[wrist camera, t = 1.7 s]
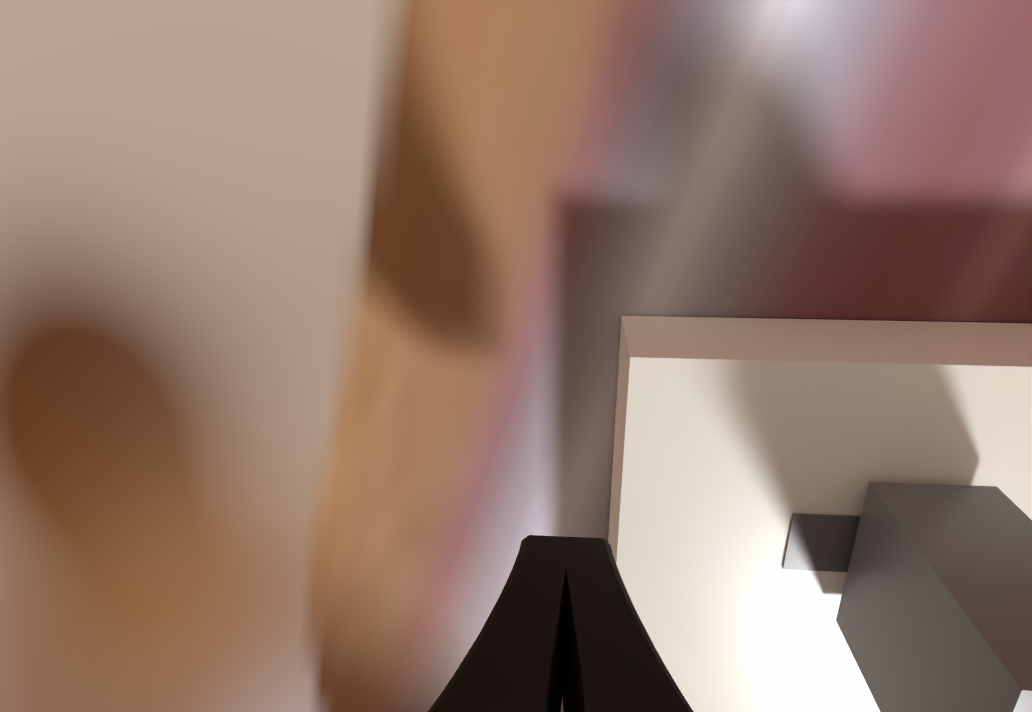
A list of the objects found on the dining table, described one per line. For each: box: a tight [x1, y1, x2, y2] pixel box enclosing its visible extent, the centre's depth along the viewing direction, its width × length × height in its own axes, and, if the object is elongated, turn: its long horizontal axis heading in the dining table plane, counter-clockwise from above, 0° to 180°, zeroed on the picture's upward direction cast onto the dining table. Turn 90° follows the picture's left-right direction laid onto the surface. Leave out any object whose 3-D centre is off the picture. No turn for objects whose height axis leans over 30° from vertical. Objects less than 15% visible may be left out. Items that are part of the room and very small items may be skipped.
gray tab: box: [836, 482, 1032, 712], centre depth 9 cm, size 3×2×4 cm, turn 1°
